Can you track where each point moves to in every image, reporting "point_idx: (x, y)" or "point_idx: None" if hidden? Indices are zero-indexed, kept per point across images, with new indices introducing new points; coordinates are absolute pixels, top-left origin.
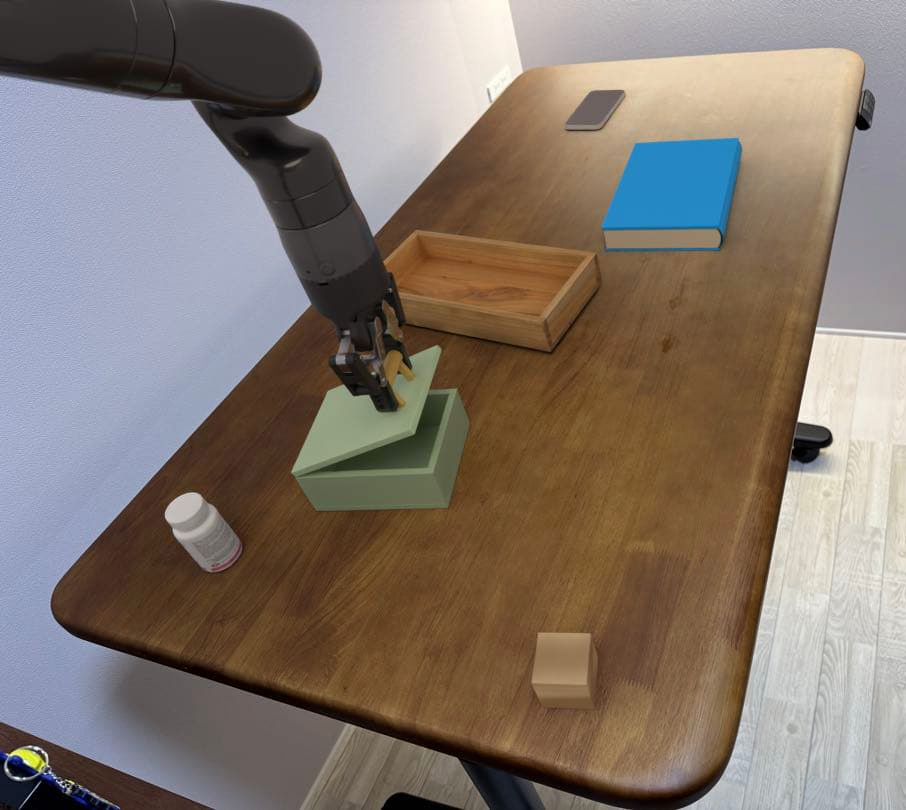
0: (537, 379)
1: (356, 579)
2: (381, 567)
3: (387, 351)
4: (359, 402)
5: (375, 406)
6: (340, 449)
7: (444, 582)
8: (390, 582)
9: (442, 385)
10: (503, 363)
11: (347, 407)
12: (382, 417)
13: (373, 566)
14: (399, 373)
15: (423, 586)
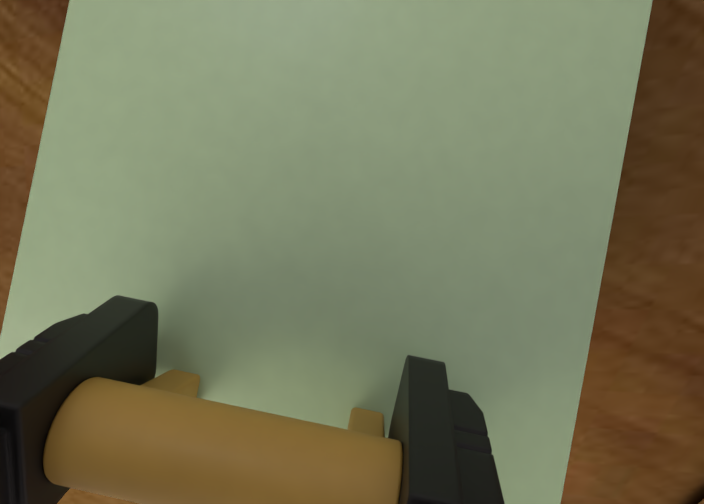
0: (579, 481)
1: (8, 53)
2: (43, 116)
3: (399, 500)
4: (403, 88)
5: (36, 339)
6: (99, 35)
7: (15, 262)
8: (7, 143)
9: (674, 246)
10: (689, 414)
11: (414, 9)
12: (171, 269)
13: (45, 95)
14: (401, 382)
15: (3, 219)
